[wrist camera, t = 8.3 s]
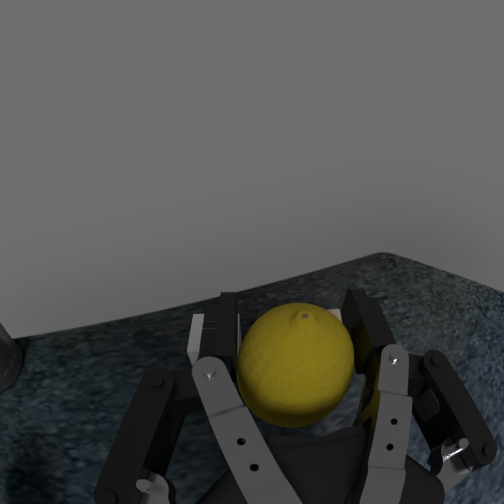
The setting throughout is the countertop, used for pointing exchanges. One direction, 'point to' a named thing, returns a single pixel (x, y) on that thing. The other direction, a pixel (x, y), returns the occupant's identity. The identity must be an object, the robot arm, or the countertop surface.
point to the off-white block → (196, 337)
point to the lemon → (295, 365)
